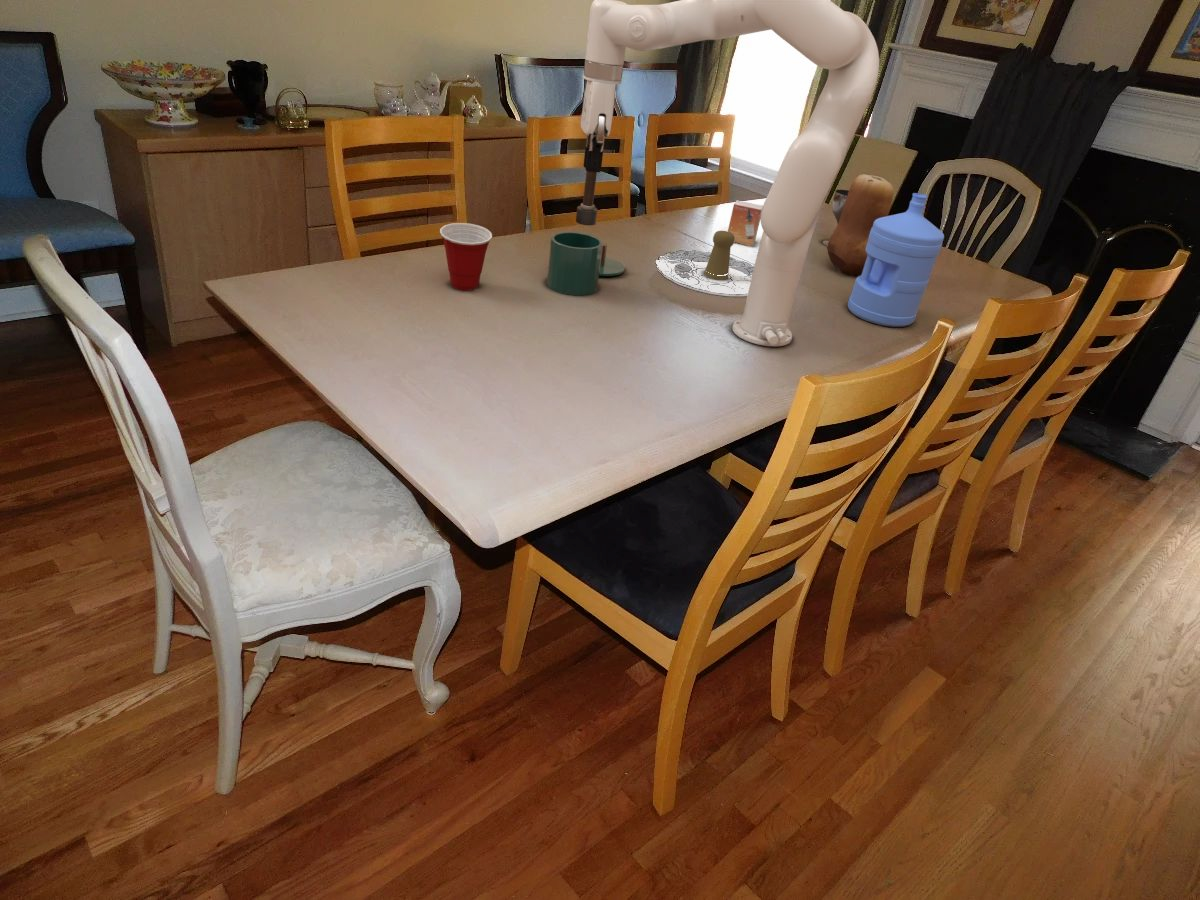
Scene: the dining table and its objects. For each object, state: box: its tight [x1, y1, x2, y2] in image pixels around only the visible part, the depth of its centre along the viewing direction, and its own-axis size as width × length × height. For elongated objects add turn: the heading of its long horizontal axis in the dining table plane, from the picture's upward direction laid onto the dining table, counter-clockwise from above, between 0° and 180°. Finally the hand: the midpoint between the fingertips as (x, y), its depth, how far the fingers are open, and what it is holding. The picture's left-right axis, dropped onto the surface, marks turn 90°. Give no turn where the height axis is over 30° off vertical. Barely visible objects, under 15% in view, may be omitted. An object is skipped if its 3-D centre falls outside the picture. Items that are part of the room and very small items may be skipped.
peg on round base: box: [575, 144, 599, 226], centre depth 161 cm, size 4×4×16 cm
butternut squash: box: [826, 173, 895, 276], centre depth 201 cm, size 14×13×25 cm
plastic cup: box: [439, 222, 493, 291], centre depth 162 cm, size 11×11×12 cm
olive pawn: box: [703, 230, 735, 281], centre depth 188 cm, size 6×6×11 cm
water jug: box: [847, 192, 945, 328], centre depth 174 cm, size 16×16×28 cm
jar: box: [546, 231, 604, 296], centre depth 171 cm, size 11×11×10 cm
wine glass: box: [822, 189, 850, 246], centre depth 224 cm, size 8×8×15 cm
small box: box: [727, 199, 764, 247], centre depth 216 cm, size 8×6×10 cm
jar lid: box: [599, 242, 626, 277], centre depth 183 cm, size 12×12×6 cm
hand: (592, 169), depth 159 cm, fingers closed on peg on round base, 2 cm apart
